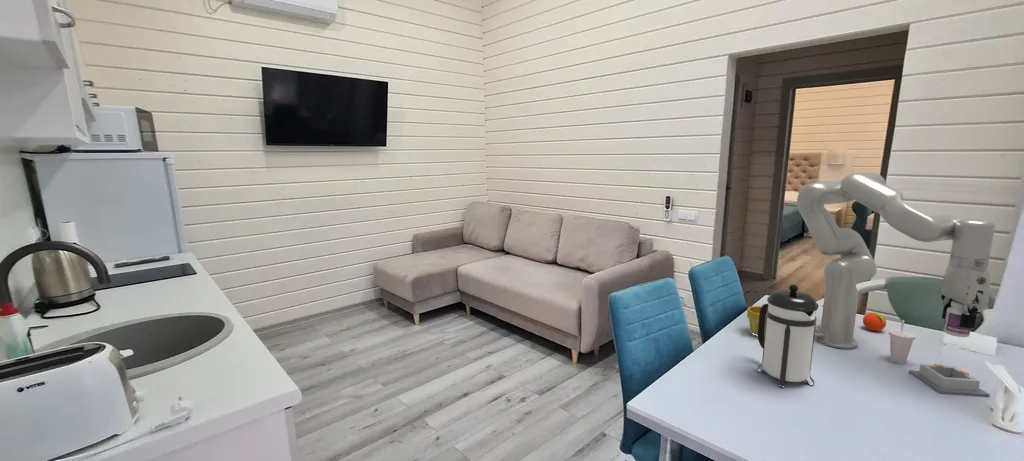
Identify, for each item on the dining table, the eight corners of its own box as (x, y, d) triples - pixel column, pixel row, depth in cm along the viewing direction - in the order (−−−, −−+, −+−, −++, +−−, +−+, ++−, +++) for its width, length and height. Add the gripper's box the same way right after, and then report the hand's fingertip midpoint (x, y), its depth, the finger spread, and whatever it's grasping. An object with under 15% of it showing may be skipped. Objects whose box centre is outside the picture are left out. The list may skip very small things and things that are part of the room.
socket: (939, 393, 120) (942, 380, 120) (908, 372, 132) (910, 360, 131) (989, 397, 118) (992, 383, 117) (953, 375, 130) (955, 362, 129)
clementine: (892, 335, 159) (895, 317, 158) (873, 335, 159) (876, 317, 158) (874, 326, 167) (877, 309, 166) (857, 326, 167) (859, 309, 166)
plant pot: (757, 327, 168) (759, 304, 166) (783, 337, 159) (785, 312, 157) (739, 332, 164) (741, 308, 162) (764, 342, 155) (766, 317, 153)
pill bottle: (974, 338, 119) (980, 306, 118) (952, 337, 120) (958, 305, 119) (959, 330, 125) (964, 299, 123) (938, 329, 126) (943, 298, 124)
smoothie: (904, 357, 141) (910, 318, 139) (915, 366, 135) (922, 325, 133) (881, 355, 143) (887, 316, 141) (891, 364, 137) (897, 323, 135)
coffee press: (818, 375, 131) (828, 283, 126) (809, 396, 120) (820, 296, 115) (755, 358, 143) (763, 273, 138) (742, 376, 132) (750, 284, 126)
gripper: (1013, 271, 110) (1001, 336, 113) (957, 255, 126) (948, 313, 130) (980, 270, 111) (968, 334, 114) (929, 255, 128) (920, 312, 131)
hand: (957, 322), depth 122 cm, fingers closed on pill bottle, 5 cm apart
